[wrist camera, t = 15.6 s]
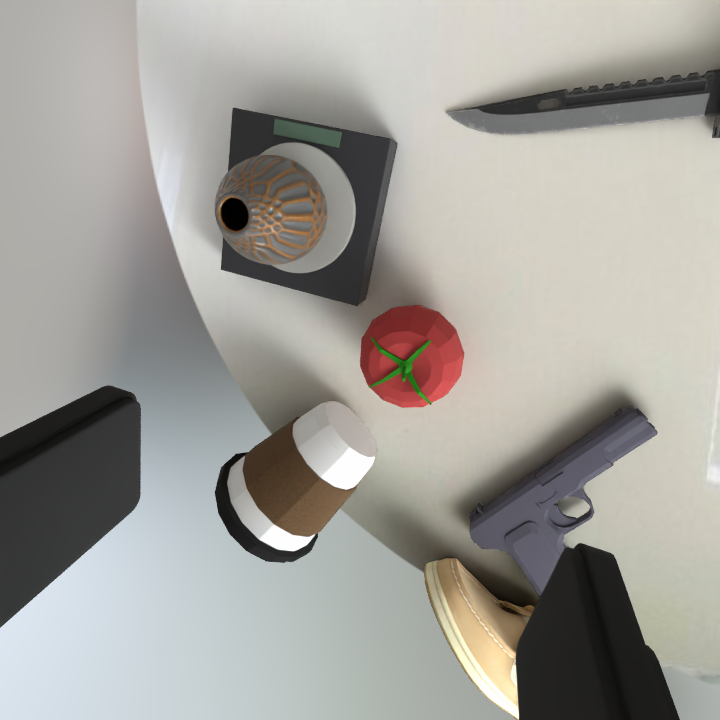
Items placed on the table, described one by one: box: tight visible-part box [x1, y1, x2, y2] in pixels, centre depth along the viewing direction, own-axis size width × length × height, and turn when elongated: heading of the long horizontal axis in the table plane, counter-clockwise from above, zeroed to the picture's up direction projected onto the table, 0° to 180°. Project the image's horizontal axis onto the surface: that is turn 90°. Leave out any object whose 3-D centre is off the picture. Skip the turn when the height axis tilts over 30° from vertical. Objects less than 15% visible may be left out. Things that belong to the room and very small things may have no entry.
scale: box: [221, 108, 397, 306], centre depth 35 cm, size 12×12×3 cm
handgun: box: [469, 406, 658, 598], centre depth 38 cm, size 18×2×12 cm
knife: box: [446, 69, 720, 138], centre depth 28 cm, size 25×2×5 cm
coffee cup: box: [215, 401, 378, 563], centre depth 39 cm, size 11×11×12 cm
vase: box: [215, 155, 327, 265], centre depth 29 cm, size 7×7×9 cm
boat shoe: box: [424, 558, 535, 720], centre depth 40 cm, size 25×9×9 cm
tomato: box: [360, 305, 464, 408], centre depth 34 cm, size 8×8×8 cm
